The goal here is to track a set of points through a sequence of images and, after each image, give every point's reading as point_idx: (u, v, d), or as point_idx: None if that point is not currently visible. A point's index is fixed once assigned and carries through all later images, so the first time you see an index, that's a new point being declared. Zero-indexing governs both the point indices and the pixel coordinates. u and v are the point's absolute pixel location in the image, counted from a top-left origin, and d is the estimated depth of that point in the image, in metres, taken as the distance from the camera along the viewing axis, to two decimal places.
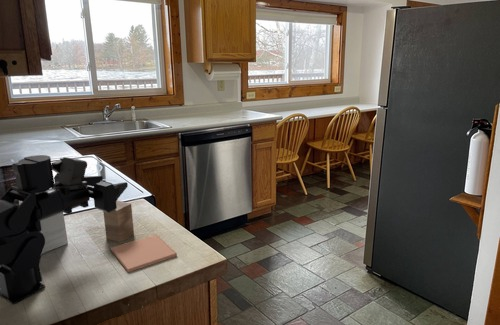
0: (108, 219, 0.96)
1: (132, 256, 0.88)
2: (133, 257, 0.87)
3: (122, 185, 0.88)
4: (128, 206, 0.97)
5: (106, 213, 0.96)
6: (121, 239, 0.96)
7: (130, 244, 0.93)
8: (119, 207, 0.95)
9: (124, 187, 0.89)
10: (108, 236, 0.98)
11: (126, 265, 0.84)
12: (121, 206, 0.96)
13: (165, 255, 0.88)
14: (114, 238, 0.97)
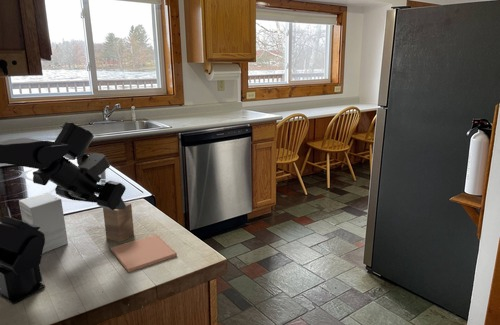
0: (108, 219, 0.96)
1: (132, 256, 0.88)
2: (133, 257, 0.87)
3: (122, 203, 0.91)
4: (128, 206, 0.97)
5: (106, 213, 0.96)
6: (121, 239, 0.96)
7: (130, 244, 0.93)
8: None
9: (122, 206, 0.91)
10: (108, 236, 0.98)
11: (126, 265, 0.84)
12: None
13: (165, 255, 0.88)
14: (114, 238, 0.97)
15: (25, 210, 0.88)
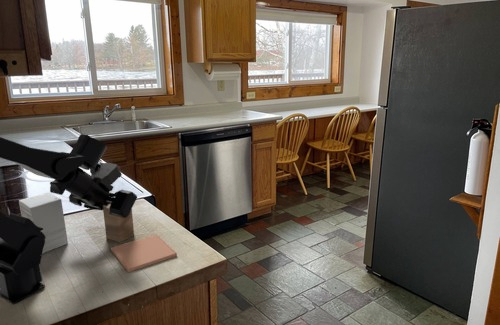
0: (108, 219, 0.96)
1: (132, 256, 0.88)
2: (133, 257, 0.87)
3: None
4: None
5: (106, 213, 0.96)
6: (121, 239, 0.96)
7: (130, 244, 0.93)
8: None
9: None
10: (108, 236, 0.98)
11: (126, 265, 0.84)
12: None
13: (165, 255, 0.88)
14: (114, 238, 0.97)
15: (25, 210, 0.88)
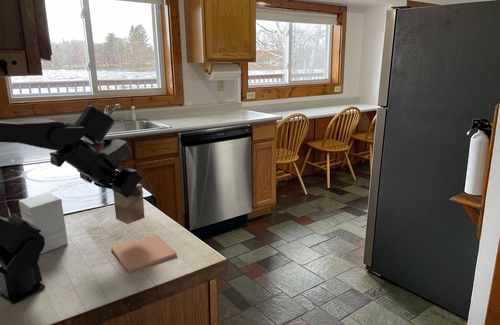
0: (117, 199, 0.91)
1: (132, 256, 0.88)
2: (133, 257, 0.87)
3: (136, 190, 0.90)
4: (138, 187, 0.91)
5: None
6: (129, 221, 0.91)
7: (130, 244, 0.93)
8: None
9: (136, 194, 0.90)
10: (117, 217, 0.93)
11: (126, 265, 0.84)
12: None
13: (165, 255, 0.88)
14: (122, 219, 0.92)
15: (25, 210, 0.88)
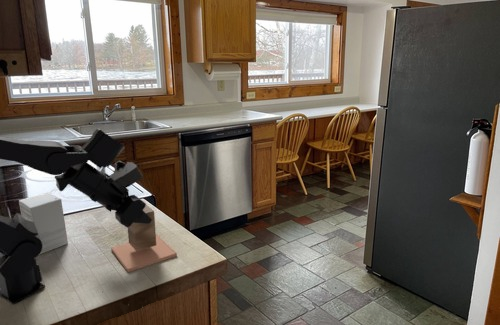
0: None
1: (132, 256, 0.88)
2: (133, 257, 0.87)
3: (146, 217, 0.85)
4: (150, 213, 0.87)
5: None
6: (138, 248, 0.87)
7: None
8: None
9: (146, 220, 0.86)
10: (129, 241, 0.90)
11: (126, 265, 0.84)
12: None
13: (165, 255, 0.88)
14: (133, 245, 0.88)
15: (25, 210, 0.88)
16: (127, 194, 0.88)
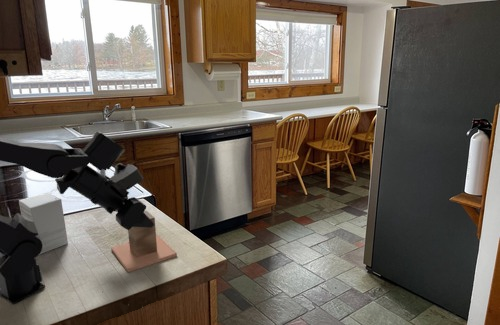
0: (130, 230, 0.88)
1: (132, 256, 0.88)
2: (133, 257, 0.87)
3: (149, 221, 0.84)
4: None
5: None
6: (139, 254, 0.87)
7: None
8: None
9: (148, 224, 0.85)
10: (130, 247, 0.90)
11: (126, 265, 0.84)
12: None
13: (165, 255, 0.88)
14: (134, 251, 0.89)
15: (25, 210, 0.88)
16: None
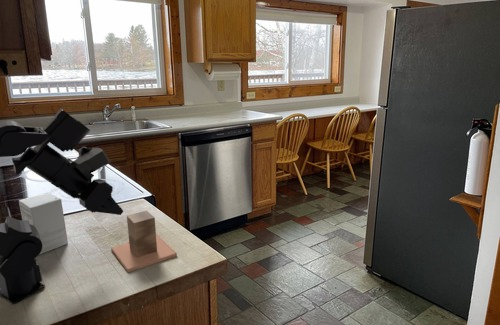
0: (130, 230, 0.88)
1: (132, 256, 0.88)
2: (133, 257, 0.87)
3: (117, 207, 0.79)
4: (150, 220, 0.87)
5: (128, 223, 0.88)
6: (139, 254, 0.87)
7: None
8: (139, 219, 0.86)
9: (117, 211, 0.79)
10: (130, 248, 0.90)
11: (126, 265, 0.84)
12: (142, 218, 0.87)
13: (165, 255, 0.88)
14: (134, 251, 0.89)
15: (25, 210, 0.88)
16: (90, 181, 0.84)
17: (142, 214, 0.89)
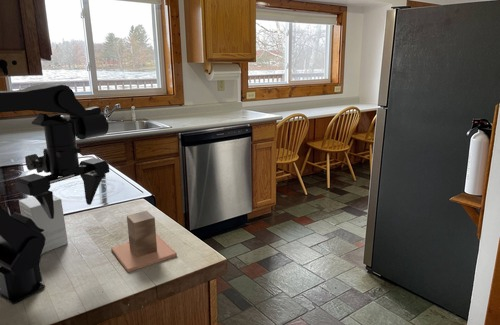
0: (130, 230, 0.88)
1: (132, 256, 0.88)
2: (133, 257, 0.87)
3: None
4: (150, 220, 0.87)
5: (128, 223, 0.88)
6: (139, 254, 0.87)
7: None
8: (139, 219, 0.86)
9: None
10: (130, 248, 0.90)
11: (126, 265, 0.84)
12: (142, 218, 0.87)
13: (165, 255, 0.88)
14: (134, 251, 0.89)
15: (25, 210, 0.88)
16: None
17: (142, 214, 0.89)
